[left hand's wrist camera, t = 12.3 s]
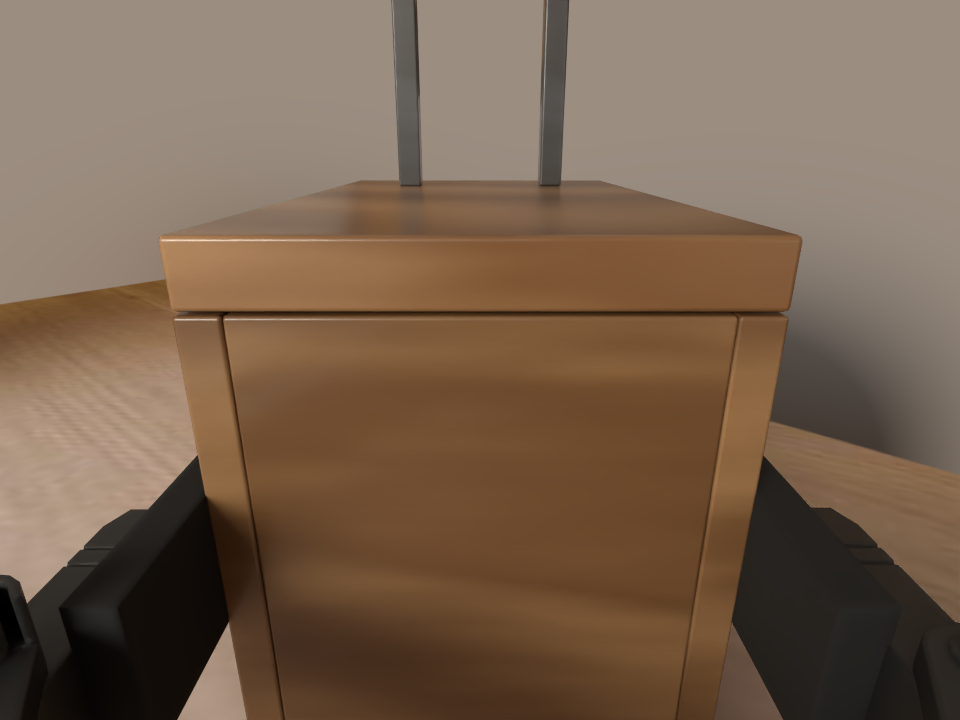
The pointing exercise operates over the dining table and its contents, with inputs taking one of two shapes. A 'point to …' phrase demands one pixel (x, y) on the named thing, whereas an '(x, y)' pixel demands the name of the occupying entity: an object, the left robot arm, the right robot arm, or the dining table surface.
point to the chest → (480, 506)
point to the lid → (480, 235)
